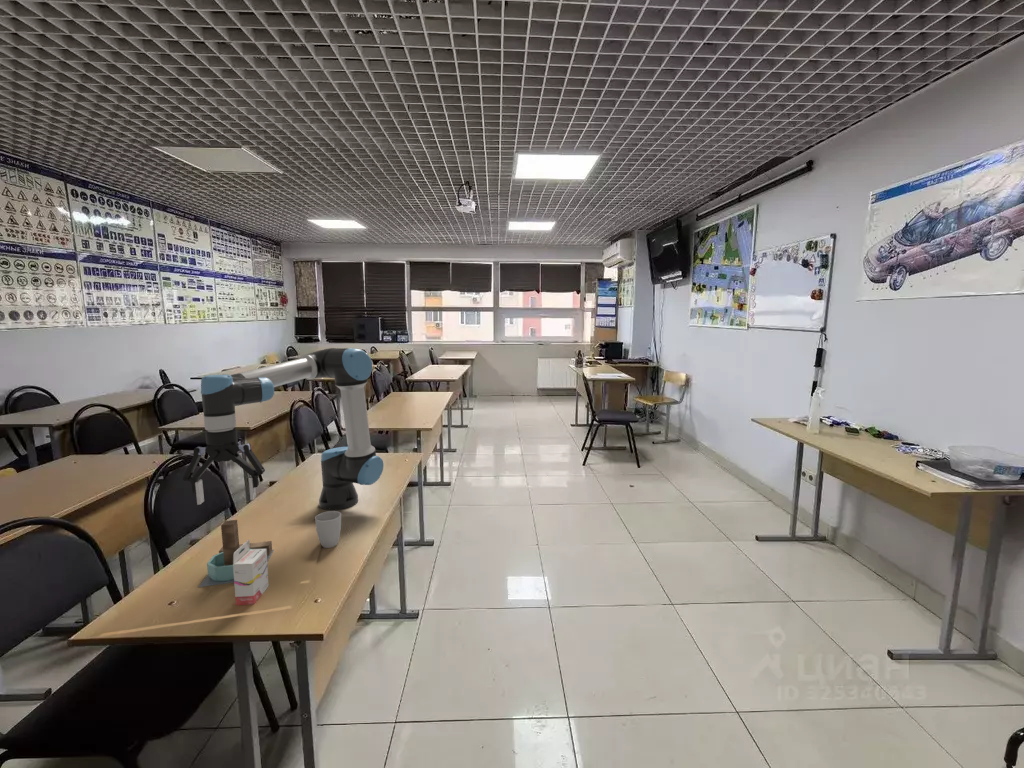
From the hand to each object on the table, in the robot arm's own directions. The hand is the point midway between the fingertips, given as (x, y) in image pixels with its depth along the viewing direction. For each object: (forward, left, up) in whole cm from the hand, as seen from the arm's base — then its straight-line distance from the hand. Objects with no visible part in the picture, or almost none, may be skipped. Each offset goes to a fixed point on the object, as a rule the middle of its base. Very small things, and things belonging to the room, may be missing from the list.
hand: (227, 500), depth 130 cm
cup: (-25, -11, -23) cm, 36 cm away
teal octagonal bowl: (0, 0, -22) cm, 22 cm away
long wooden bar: (-1, -9, -22) cm, 23 cm away
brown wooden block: (0, 0, -21) cm, 21 cm away
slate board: (-1, -2, -22) cm, 22 cm away
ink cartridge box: (-9, +15, -23) cm, 29 cm away
